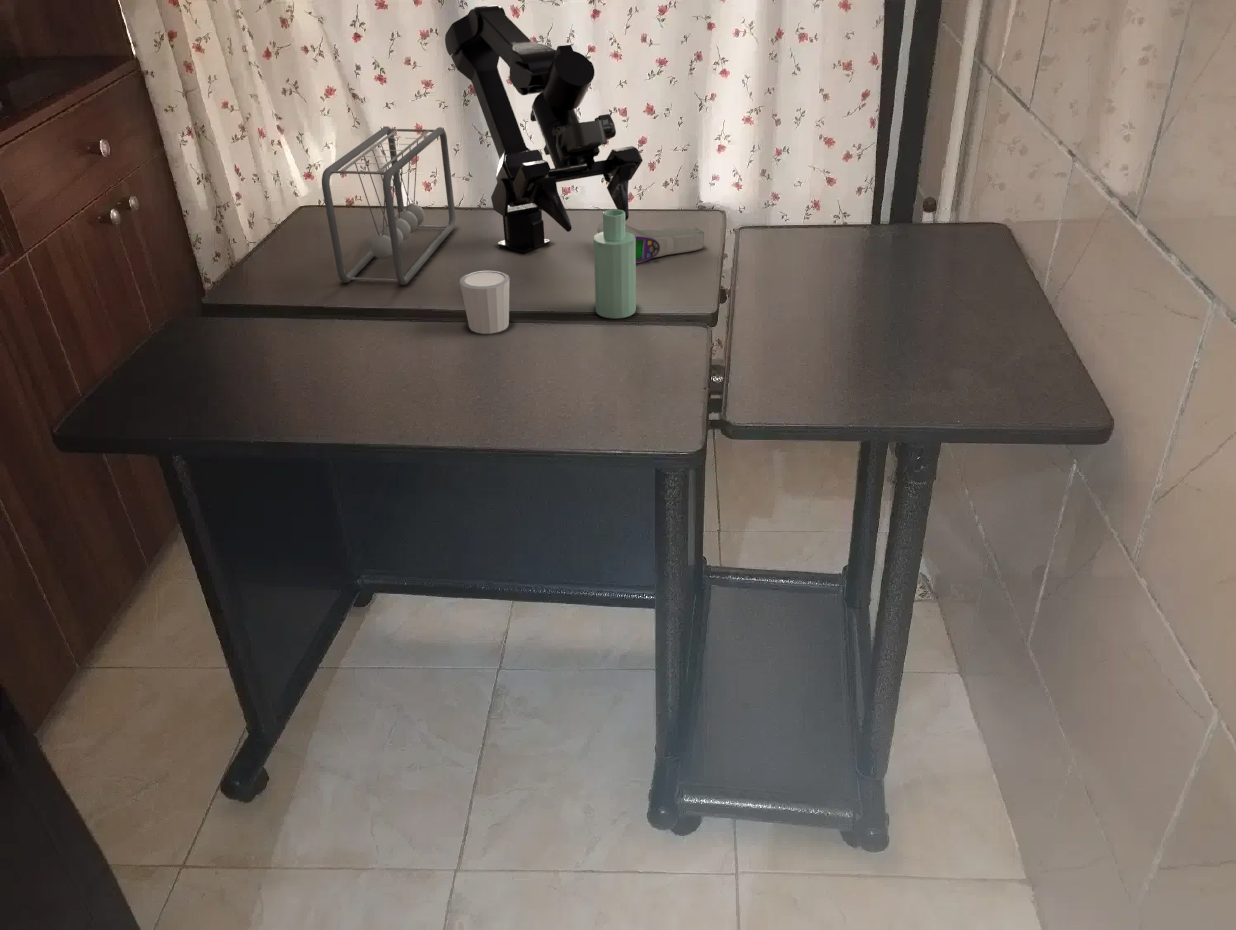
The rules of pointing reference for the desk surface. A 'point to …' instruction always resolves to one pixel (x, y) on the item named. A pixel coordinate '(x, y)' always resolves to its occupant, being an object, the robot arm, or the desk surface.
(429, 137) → the newton's cradle
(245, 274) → the desk surface
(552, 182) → the robot arm
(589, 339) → the desk surface
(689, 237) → the infrared thermometer
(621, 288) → the water bottle
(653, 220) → the desk surface
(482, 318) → the shot glass
